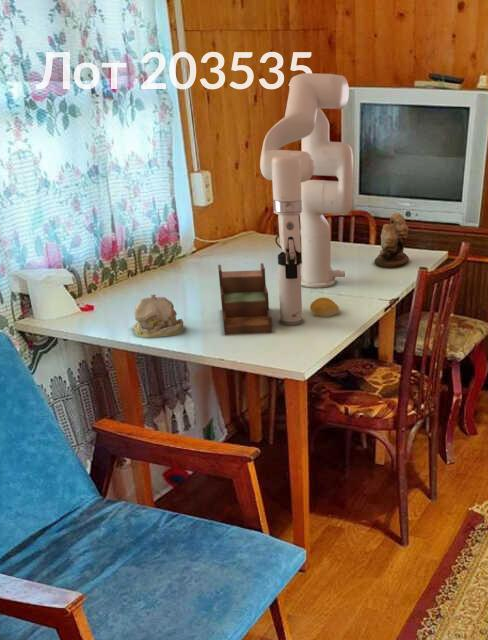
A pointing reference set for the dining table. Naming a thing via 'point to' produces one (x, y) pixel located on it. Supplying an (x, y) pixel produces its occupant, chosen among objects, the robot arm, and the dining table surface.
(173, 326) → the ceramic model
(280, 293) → the travel mug
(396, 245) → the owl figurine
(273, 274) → the dining table surface
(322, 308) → the bread roll
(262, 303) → the step rack
